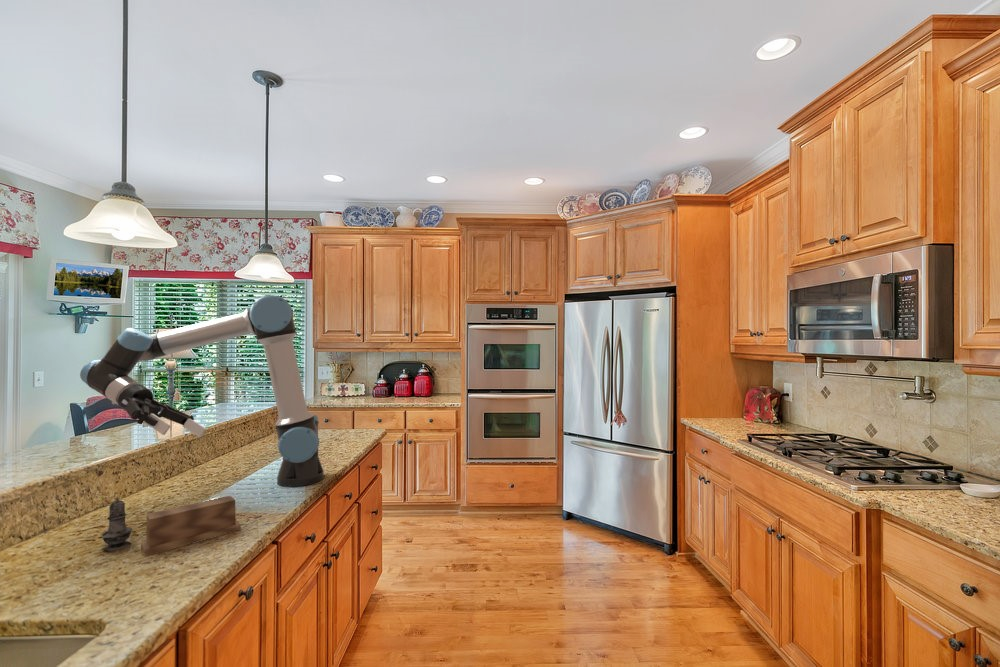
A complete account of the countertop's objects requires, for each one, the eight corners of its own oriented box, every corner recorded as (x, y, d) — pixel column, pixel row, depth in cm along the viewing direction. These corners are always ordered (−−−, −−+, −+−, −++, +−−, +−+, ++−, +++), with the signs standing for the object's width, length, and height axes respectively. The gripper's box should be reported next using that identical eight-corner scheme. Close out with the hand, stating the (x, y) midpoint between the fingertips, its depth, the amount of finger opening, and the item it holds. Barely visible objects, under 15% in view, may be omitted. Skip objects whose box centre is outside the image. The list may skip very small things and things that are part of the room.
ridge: (233, 523, 125) (233, 494, 125) (240, 530, 120) (240, 499, 120) (141, 547, 111) (141, 514, 111) (144, 556, 106) (144, 521, 106)
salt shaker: (138, 543, 113) (138, 494, 113) (111, 554, 108) (111, 502, 108) (122, 540, 115) (122, 492, 115) (95, 550, 109) (95, 500, 110)
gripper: (156, 411, 141) (208, 445, 137) (79, 401, 117) (139, 442, 113) (172, 390, 143) (223, 423, 139) (99, 375, 119) (159, 415, 115)
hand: (186, 431), depth 126 cm, fingers open, 13 cm apart
